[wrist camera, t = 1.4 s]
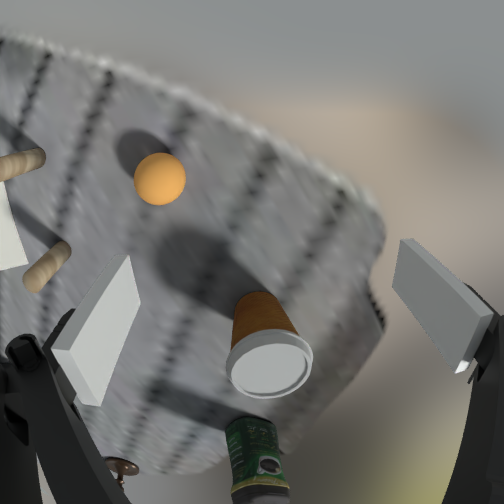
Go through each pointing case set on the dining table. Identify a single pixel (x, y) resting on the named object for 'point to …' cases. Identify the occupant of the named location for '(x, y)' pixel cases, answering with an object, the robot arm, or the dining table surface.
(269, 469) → the coffee jar
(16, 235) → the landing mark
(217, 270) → the dining table surface
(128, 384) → the dining table surface
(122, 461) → the candlestick
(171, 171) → the ball
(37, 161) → the post
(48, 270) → the post
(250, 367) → the disposable coffee cup
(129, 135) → the dining table surface
